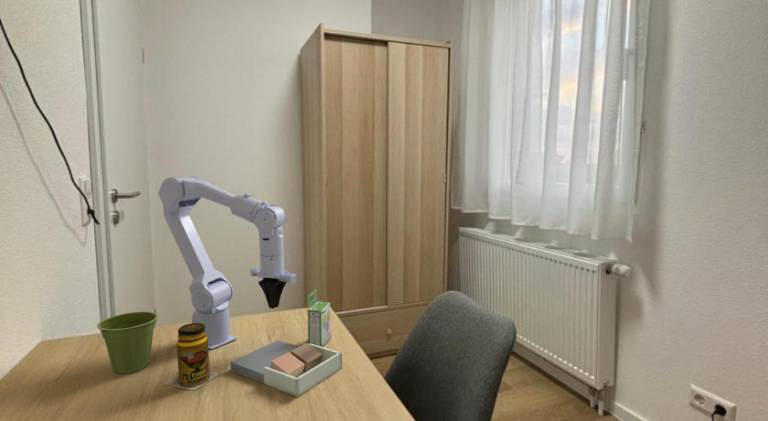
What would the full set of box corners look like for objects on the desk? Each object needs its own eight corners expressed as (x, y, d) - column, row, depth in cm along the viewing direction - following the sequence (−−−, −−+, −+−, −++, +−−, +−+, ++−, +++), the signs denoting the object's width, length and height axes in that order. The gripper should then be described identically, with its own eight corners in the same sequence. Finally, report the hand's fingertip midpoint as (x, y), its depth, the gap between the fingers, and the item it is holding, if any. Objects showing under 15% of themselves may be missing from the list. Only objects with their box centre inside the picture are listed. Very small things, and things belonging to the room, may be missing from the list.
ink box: (322, 348, 104) (321, 297, 103) (307, 347, 105) (306, 296, 103) (331, 337, 111) (330, 289, 109) (317, 336, 112) (316, 288, 110)
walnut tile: (289, 360, 93) (291, 350, 93) (304, 351, 98) (307, 342, 97) (305, 372, 91) (307, 362, 90) (320, 363, 95) (322, 354, 95)
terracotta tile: (269, 370, 89) (271, 361, 88) (286, 361, 93) (288, 352, 92) (285, 383, 86) (288, 373, 86) (302, 373, 90) (304, 364, 90)
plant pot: (169, 366, 96) (166, 319, 94) (109, 386, 87) (105, 334, 86) (151, 351, 104) (148, 307, 102) (94, 367, 95) (90, 320, 94)
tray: (264, 383, 87) (263, 367, 87) (310, 357, 99) (310, 343, 99) (297, 397, 82) (297, 379, 82) (342, 367, 94) (341, 352, 94)
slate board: (231, 370, 93) (230, 361, 93) (278, 347, 105) (277, 340, 105) (264, 383, 87) (264, 374, 87) (310, 357, 99) (310, 349, 99)
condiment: (195, 391, 85) (192, 334, 84) (162, 384, 87) (159, 330, 86) (219, 374, 92) (217, 321, 90) (188, 368, 94) (185, 318, 93)
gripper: (239, 254, 104) (241, 306, 105) (280, 260, 96) (282, 317, 97) (261, 249, 109) (263, 299, 111) (301, 255, 102) (303, 308, 103)
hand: (273, 307), depth 104 cm, fingers closed
